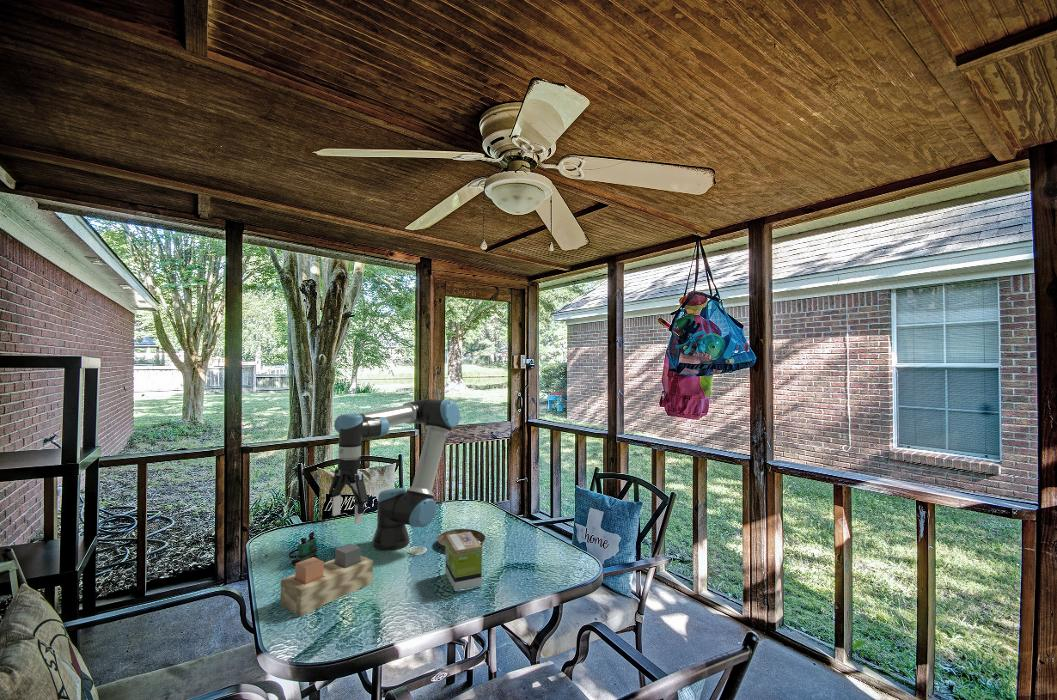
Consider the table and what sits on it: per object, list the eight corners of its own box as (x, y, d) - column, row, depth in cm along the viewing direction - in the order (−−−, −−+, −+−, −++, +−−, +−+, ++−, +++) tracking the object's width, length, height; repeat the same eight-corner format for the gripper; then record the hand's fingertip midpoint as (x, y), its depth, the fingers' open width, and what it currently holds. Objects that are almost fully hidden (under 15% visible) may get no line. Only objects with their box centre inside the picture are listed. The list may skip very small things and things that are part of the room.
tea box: (444, 574, 167) (445, 534, 168) (470, 569, 171) (471, 530, 172) (454, 593, 154) (455, 549, 154) (482, 588, 157) (483, 545, 158)
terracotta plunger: (312, 581, 150) (313, 556, 151) (322, 586, 147) (323, 561, 147) (294, 588, 146) (295, 563, 146) (305, 594, 142) (305, 568, 142)
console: (351, 574, 166) (352, 552, 166) (372, 583, 159) (373, 560, 160) (280, 604, 145) (281, 579, 145) (300, 616, 138) (301, 590, 138)
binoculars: (298, 531, 181) (320, 531, 179) (299, 558, 181) (321, 558, 179) (282, 539, 172) (304, 539, 171) (283, 568, 172) (306, 568, 170)
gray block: (349, 566, 162) (350, 543, 162) (360, 570, 159) (360, 547, 159) (334, 572, 157) (335, 549, 157) (344, 577, 154) (345, 553, 154)
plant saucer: (494, 548, 193) (494, 540, 193) (450, 559, 181) (450, 551, 181) (471, 532, 209) (471, 525, 209) (429, 542, 197) (429, 534, 198)
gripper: (320, 454, 164) (317, 513, 163) (361, 464, 149) (358, 529, 149) (339, 452, 170) (337, 508, 169) (380, 461, 156) (378, 523, 155)
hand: (347, 518), depth 159 cm, fingers open, 13 cm apart
